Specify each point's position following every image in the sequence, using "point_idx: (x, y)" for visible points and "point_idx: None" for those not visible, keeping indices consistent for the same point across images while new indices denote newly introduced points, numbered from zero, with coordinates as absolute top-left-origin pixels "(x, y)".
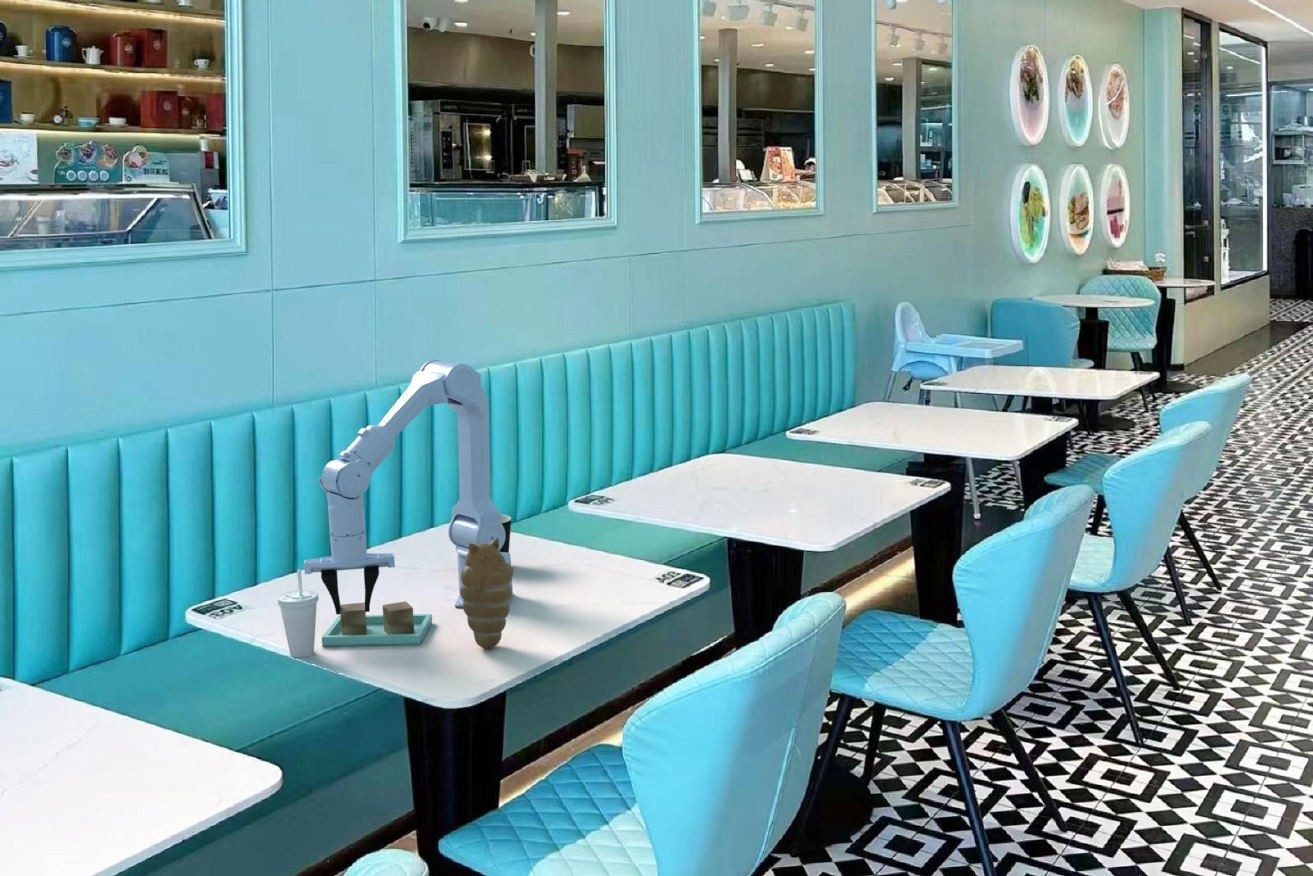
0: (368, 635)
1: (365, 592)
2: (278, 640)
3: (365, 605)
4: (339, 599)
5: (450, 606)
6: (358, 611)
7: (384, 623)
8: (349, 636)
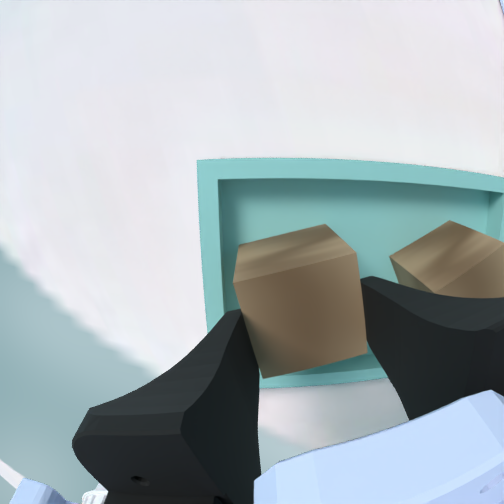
0: (359, 374)
1: (402, 399)
2: (71, 307)
3: (374, 352)
4: (237, 329)
5: (500, 39)
6: (339, 357)
7: (404, 275)
8: (301, 384)
